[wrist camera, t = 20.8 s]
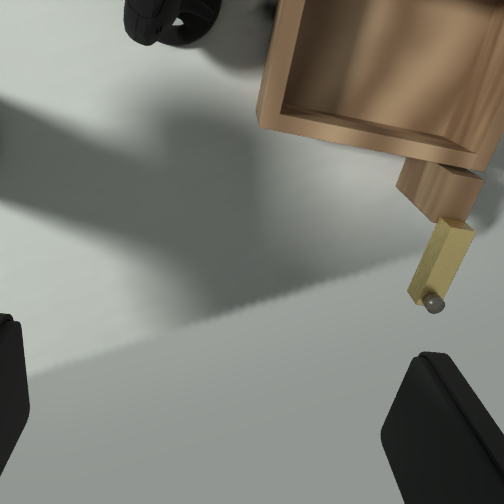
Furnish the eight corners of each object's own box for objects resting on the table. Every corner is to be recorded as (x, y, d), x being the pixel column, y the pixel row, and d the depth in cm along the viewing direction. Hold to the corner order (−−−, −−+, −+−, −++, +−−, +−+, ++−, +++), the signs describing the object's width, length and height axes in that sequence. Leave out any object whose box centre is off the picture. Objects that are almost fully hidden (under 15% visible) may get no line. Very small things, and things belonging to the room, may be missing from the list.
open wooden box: (246, 158, 39) (249, 189, 31) (291, -70, 31) (309, -101, 24) (427, 192, 41) (470, 229, 34) (511, -12, 33) (592, -24, 26)
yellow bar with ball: (407, 291, 36) (420, 311, 33) (439, 216, 33) (457, 233, 30) (428, 294, 36) (444, 315, 34) (463, 220, 33) (483, 237, 30)
